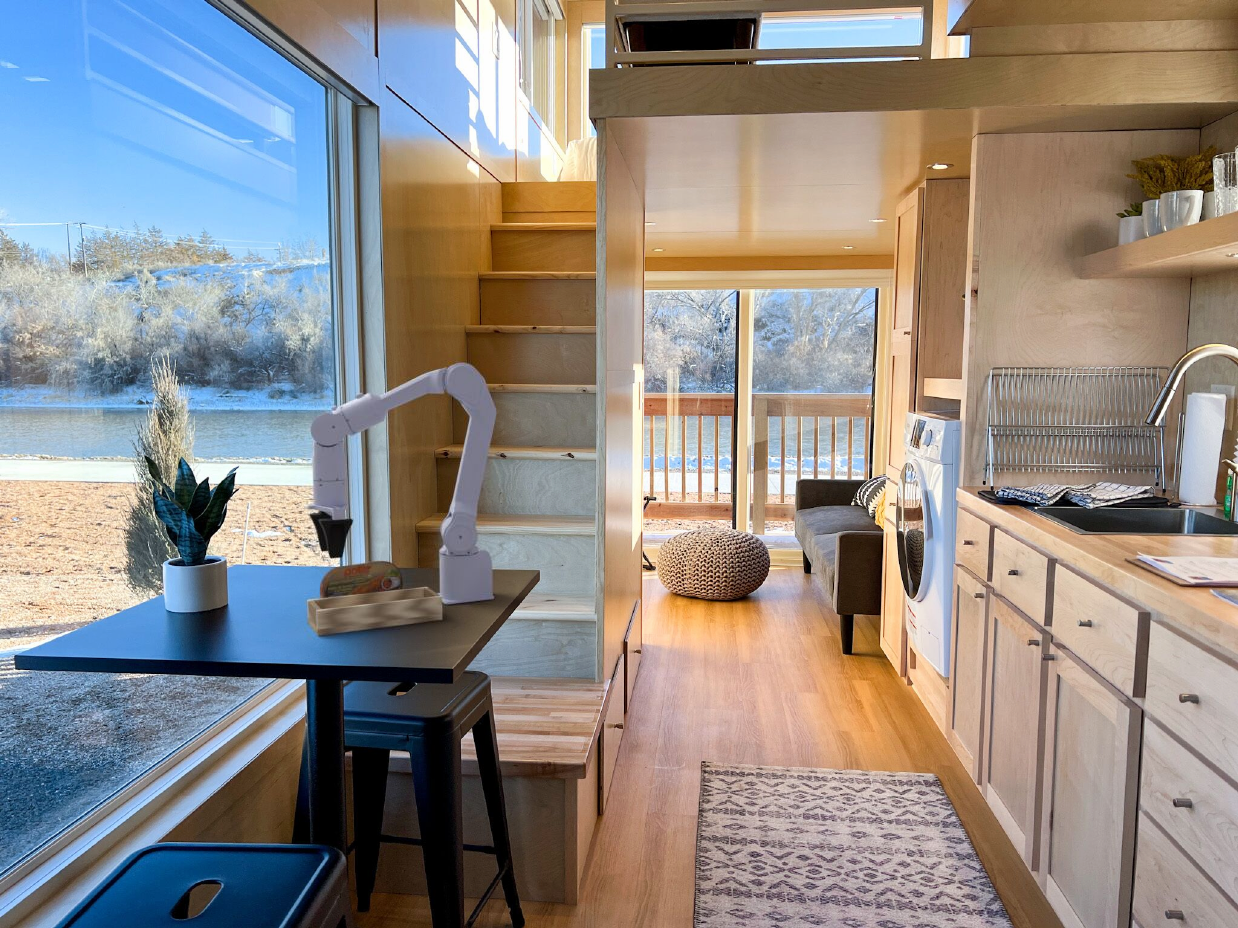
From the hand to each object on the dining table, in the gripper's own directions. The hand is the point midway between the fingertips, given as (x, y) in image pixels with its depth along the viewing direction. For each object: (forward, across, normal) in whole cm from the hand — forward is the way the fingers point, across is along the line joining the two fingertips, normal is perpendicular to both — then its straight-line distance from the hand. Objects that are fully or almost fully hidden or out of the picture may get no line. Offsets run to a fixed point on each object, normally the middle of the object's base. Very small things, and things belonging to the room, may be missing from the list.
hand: (331, 554), depth 162 cm
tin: (+10, +5, +4) cm, 12 cm away
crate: (+9, +15, +4) cm, 18 cm away
